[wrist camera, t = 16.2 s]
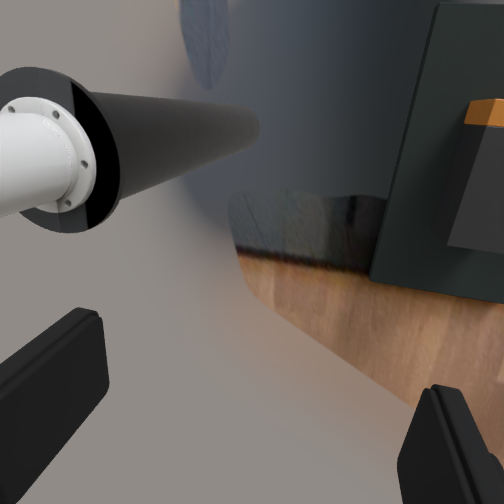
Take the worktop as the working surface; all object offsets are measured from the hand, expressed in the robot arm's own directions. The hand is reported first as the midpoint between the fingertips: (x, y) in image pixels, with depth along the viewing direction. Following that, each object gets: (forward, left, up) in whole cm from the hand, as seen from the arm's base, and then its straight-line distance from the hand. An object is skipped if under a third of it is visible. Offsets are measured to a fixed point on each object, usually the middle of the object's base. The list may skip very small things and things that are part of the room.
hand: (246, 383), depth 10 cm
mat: (+13, +4, -24) cm, 28 cm away
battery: (+13, +4, -23) cm, 27 cm away
